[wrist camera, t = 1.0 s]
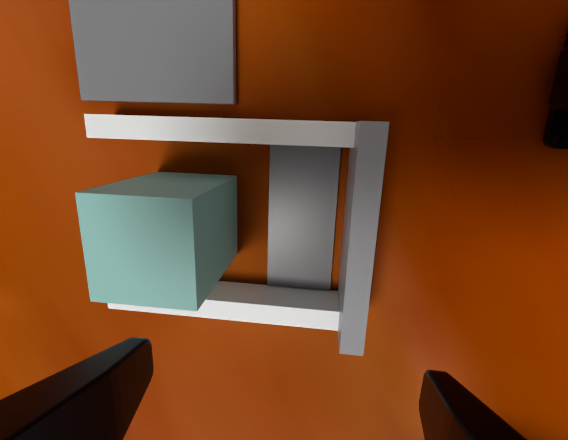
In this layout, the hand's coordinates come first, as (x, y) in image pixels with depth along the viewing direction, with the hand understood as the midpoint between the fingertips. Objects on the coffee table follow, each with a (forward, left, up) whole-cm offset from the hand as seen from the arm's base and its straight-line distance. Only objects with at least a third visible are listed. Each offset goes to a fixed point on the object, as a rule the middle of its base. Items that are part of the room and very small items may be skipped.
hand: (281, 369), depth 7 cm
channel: (+5, 0, -13) cm, 14 cm away
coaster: (+9, -11, -13) cm, 19 cm away
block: (+7, 0, -13) cm, 15 cm away
